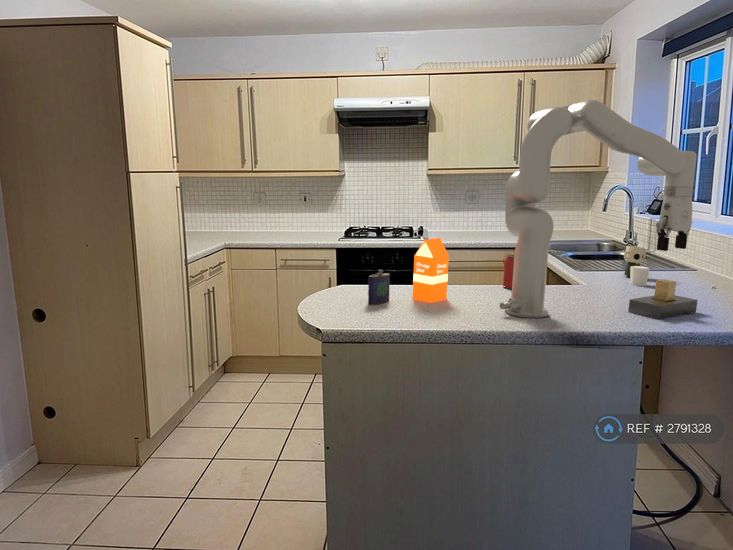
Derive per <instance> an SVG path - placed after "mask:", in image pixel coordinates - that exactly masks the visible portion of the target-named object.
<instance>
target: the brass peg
mask: <svg viewBox="0 0 733 550" xmlns="http://www.w3.org/2000/svg"><path fill="white" fill-rule="evenodd" d="M676 286H677V281H675V280H671V279H664V278H663V279H656V280H655V288H654V295H653V296H654V300H659V301H663V302H672V301H674V295H675V294H676V289H677V287H676Z"/></svg>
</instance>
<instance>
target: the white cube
mask: <svg viewBox="0 0 733 550" xmlns="http://www.w3.org/2000/svg"><path fill="white" fill-rule="evenodd" d="M650 270H651V268H650V267H647V266H642V265H640V266H631V272H630V277H629V279H630V282H629V283H630V285H632V286H636V287H646V286H647V284H648V283H647V282H648V279H649V275H650V274H649V273H650Z"/></svg>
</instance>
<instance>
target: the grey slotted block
mask: <svg viewBox="0 0 733 550" xmlns="http://www.w3.org/2000/svg"><path fill="white" fill-rule="evenodd" d="M697 306H698V299H695V298H691V297H685V296H680V295H674V301H672V302H663V301H659V300H654V295H649V296H642V297H637V298H636V297H635V298H629V303H628V311H627V313H631V314H634V315H635V314H636V315H639V316H644V317H648V318H651V317H652V319H656V320H663V319H664V320H665V319H668V318H674V317H678V316H683V315H689V314H694V313H696V312H697Z"/></svg>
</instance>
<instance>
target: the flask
mask: <svg viewBox="0 0 733 550" xmlns="http://www.w3.org/2000/svg"><path fill="white" fill-rule="evenodd" d="M383 272H384V270H383V269H378V272H377V273H372V274H371V275H369V276H368V277H367V278H368V279H367V280H368V282H367V285H368V287H367V288H368V289H367V290H368V291H367V295H368V300H367V301H368V302H367V305H369V306H375V305H380V304H384V303H388V302H389V301H390V287H391V285H390V281H391V280H390V277H391V274H390V273H388V272H387V273H386V272H385V273H383Z"/></svg>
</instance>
